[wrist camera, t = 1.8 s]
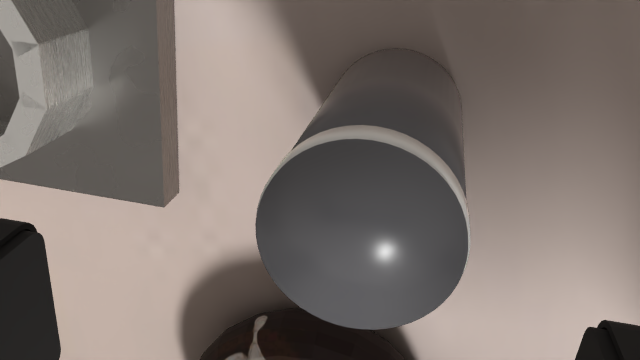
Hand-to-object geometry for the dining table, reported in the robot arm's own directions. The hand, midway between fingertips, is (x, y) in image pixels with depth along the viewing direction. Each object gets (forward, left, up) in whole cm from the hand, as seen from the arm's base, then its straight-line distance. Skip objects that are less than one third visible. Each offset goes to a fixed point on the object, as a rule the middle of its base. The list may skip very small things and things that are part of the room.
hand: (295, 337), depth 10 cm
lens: (-1, 0, -14) cm, 14 cm away
